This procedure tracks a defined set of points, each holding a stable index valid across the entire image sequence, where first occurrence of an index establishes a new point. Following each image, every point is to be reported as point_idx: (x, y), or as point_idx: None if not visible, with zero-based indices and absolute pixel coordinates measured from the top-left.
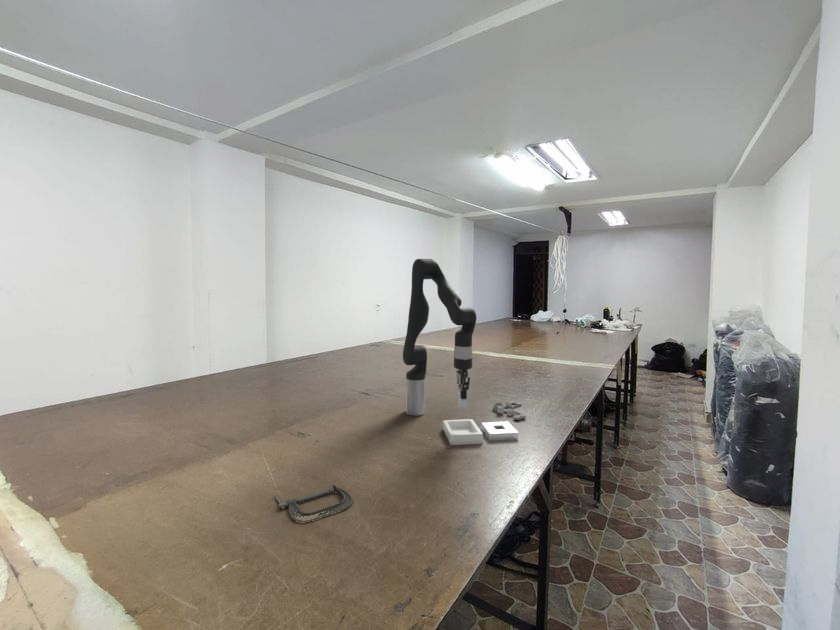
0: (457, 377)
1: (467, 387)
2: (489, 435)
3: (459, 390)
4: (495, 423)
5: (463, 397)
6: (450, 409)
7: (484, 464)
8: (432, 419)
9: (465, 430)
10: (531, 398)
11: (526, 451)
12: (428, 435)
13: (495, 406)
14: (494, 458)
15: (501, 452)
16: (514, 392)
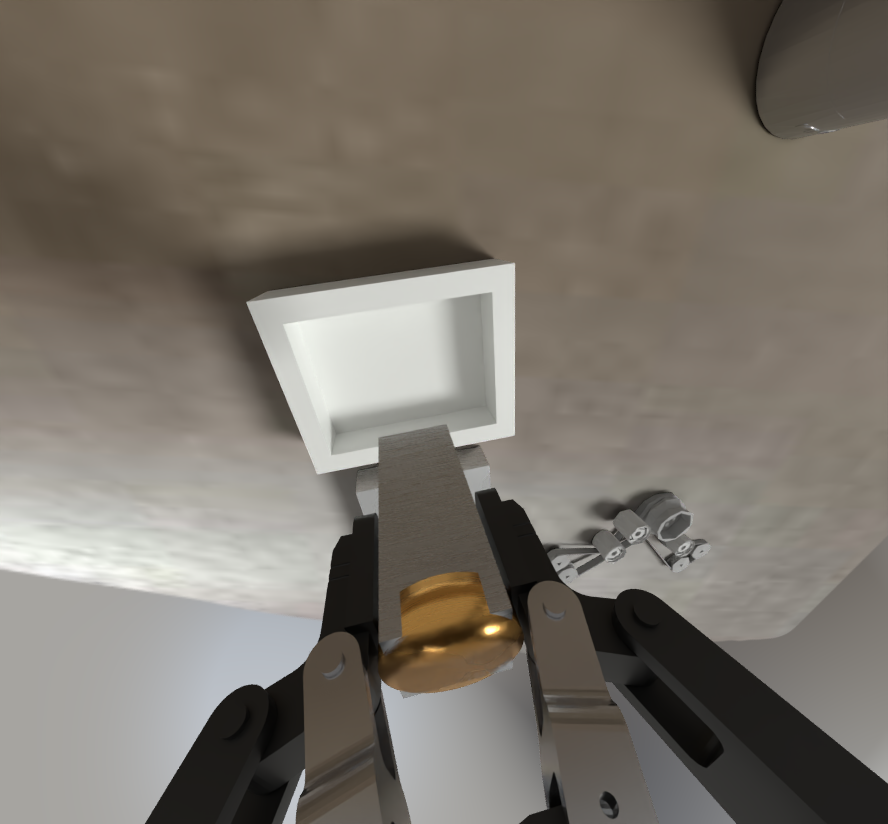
0: (759, 760)
1: (242, 799)
2: (361, 484)
3: (411, 582)
4: None
5: (337, 554)
6: (751, 321)
7: (86, 440)
8: (656, 193)
9: (445, 384)
10: (710, 587)
11: (283, 566)
12: (398, 136)
13: (665, 514)
14: (175, 478)
15: (248, 502)
16: (782, 553)
